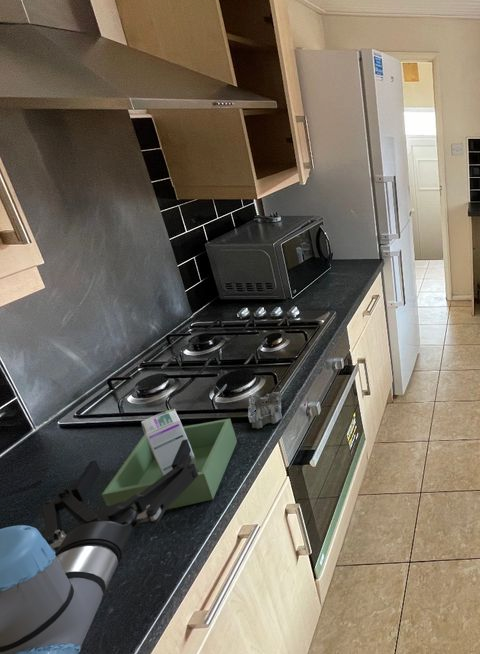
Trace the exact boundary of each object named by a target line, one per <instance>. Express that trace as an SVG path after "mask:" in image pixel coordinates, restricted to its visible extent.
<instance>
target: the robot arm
mask: <svg viewBox="0 0 480 654" xmlns="http://www.w3.org/2000/svg"><path fill="white" fill-rule="evenodd" d="M190 452H191V449H190V446H189V443H188V440H187V439H186V440H182V443H181V445H180V447H179V449H178V452H177V454H176V456H175V458H174V461H173V463H172V465H171V466H172V470H171V471H169V472H168V473H167V474H165V475H164V476H163V477H161V478H160V479H159V480H157V481H156V482H155V483H153V484H152V485H151V486H149V487H148V488H147V489H145V490H144V491H143V492H141V493H140V494H135V495H133V496H132V497H130V498H129V499H128V500H126V501H125V502H124V501H123V502H119V503H117V504H114V505H111V506H107V505H105V506H100V507H99V508H98V509H96V510H94V511H92V510H91V509H90V508H89V507H88V506H85V505H84V504H83V503H82V502H84V500H85V499H86V497H87V495H88V494H89V492H90V490H91V489H92V487H93V486H94V484H95V483H96V481H97V480H98V478H99V476H100V474H101V473H102V470H101V468H100V466H99V464H98V461H97V460H92V461H91V460H90V462H89V463H88V465H87V466H86V467H85V469H84V471H83V472H82V473H81V475H79V476H80V477H79V478H78V479H76V480H74V481H73V482H71V483H70V485H69V486H68V488H64V489H62V490H60V491H59V492H58V493H57V496H58V498H55V499H53V498H50V499H47V500H46V501H44V502H43V503H42V513H43V522H44V531H45V532H44V534H43V535H42V533H41V532H40V531H39V530H38V529H37V528H36V527H33V526H30V525H24V524H21V525H20V524H19V525H12V526H11V525H10V526H7V527H3V528H0V654H80V652H81V649H82V646H83V643H84V641H85V639H86V636H87V635H88V632H89V630H90V628H91V625H92V623H93V620H94V619H95V616H96V614H97V611H98V610H99V607H100V604H101V603H102V600H103V597H104V596H105V593H106V591H107V588H108V587H109V585H110V582H111V581H112V578H113V575H114V574H115V572H116V570H117V567H118V565H119V563H120V562H121V559H122V557H123V555H124V553H125V551H126V549H127V546H128V545H129V542H130V540H131V539H130V538H131V535H132V532H133V530H134V529H135V528H136V527H137V526H138V525H139V524H143V523H148V522H149V523H150V525H151V526H153V525H156V524H158V523H160V521H161V519H162V517H163V515H164V514H165V512H166V511H167V510H166V509H167V508H168V507H169V506H170V505H171V504H172V503H173V502H174V501H175V500H176V499H177V498H178V497H179V496H180V495H181V494H182V493H183V491H184V490H185V489H186V488H187V487H188V486H189V485H190V484H191V483H192V482H193V481H194V480H195V479H196V478H197V477H198V473H197V470H196V467H195V465H194V464H190V463H191V461H192V460H191V457H190ZM134 503H135V505H136V507H137V510H135V509H134V508H133V507H132V505H133V504H134ZM64 509H65V510H66V511H67V512H68V513H69V514H70V515H71V516H72V517H73V518H74V519H75V520H76V521H77V522H78V523H77V524H76V525H75V526H73V527H72V528H70V529H69V531H68V532H67V533H66V532H65V531H64V530H63V528H62V526H63V525H62V521H61V514H60V511H62V510H64Z"/></svg>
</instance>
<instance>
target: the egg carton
mask: <svg viewBox="0 0 480 654" xmlns="http://www.w3.org/2000/svg"><path fill="white" fill-rule="evenodd" d="M272 397H274V398H272ZM270 398H272V399H270ZM269 399H270V401H269V402H267V403H261V402H266V401H268V400H269ZM259 401H260V402H259ZM256 402H259V403H256ZM255 403H256V405H255ZM247 409H248V410H247V417H248V421H249V424H251V428H252V429H261V428H263V427H264V426H265V425H266V424H277V423H278V422H279V421H280V420H282V419H283V415H282V394H281V391H276V392H275V391H273V392H272V393H266V394H265V396H263V397H261V396H260V395H259V394H256V395H251V394H250V395H249V396H248V407H247ZM255 410H256V412H254V411H255ZM252 412H254V413H252Z"/></svg>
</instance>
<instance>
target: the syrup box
mask: <svg viewBox="0 0 480 654" xmlns="http://www.w3.org/2000/svg"><path fill="white" fill-rule="evenodd" d="M140 422H141V426H142V427H141V428H142V430H143V433H144V434H145V436H146V438H147V440H148V443H149V445H150V447H151V450H152V452H153V454H154V457H155V459H156V461H157V464H158V466H159V468H160V471H161V473H162V475H163V476H164V475H165V474H167V473H168V472H169V471H171V470H172V466H171V465H172V463H173V461H174V458H175V456H176V454H177V452H178V449H179V447H180V445H181V443H182V440H186V439H187V440H188V438H187V436H186V433H185V431H184V428H183V427H184V426H183V424H182V422H181V419H180V418H179V415H178V413H177V410H176V409H175V408H171V409H168V410H165V411H163V412H159V413H157V414H155V415H152V416H151V417H148V418H146V419H144V420H142V421H140ZM188 443H189V440H188ZM189 446H190V443H189ZM190 449H191V452H190V457H191V460H192V461H191V463H190V464H194V465H195V467H196V470H197V472H200V471H199V468H198V465H197V462H196V459H195V457H194V454H193V451H192V448H191V446H190Z"/></svg>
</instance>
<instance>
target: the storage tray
mask: <svg viewBox="0 0 480 654" xmlns="http://www.w3.org/2000/svg"><path fill="white" fill-rule="evenodd" d="M183 428H184V431H185V433H186V436H187V438H188V440H189V443H190V446H191V448H192V451H193V454H194V457H195V459H196V462H197V465H198V468H199V471H200V472H197V473H198V477H197V478H196V479H195V480H194V481H193V482H192V483H191V484H190V485H189V486H188V487H187V488H186V489H185V490H184V491H183V493H182V494H181V495H180V496H179V497H178V498H177V499H176V500H175V501H174V502H173V503H172V504H171V505H170V506H169V507H168V508H167V509H166V511H167V510H172V509H177V508H181V507H186V506H190V505H195V504H198V503H199V504H200V503H203V502H208V501H212V500H214V498H215V496H216V494H217V491H218V489H219V487H220V485H221V481H222V479H223V477H224V475H225V472H226V470H227V467H228V464H229V462H230V460H231V458H232V455H233V452H234V451H235V448H236V445H237V443H238V441H237V437H236V434H235V430H234V427H233V424H232V420H231V418H225V419H219V420H214V421H208V422H207V421H206V422H202V423H196V424H191V425H185V426H183ZM161 477H163V475H162V473H161V471H160V468H159V466H158V464H157V461H156V459H155V457H154V454H153V452H152V450H151V447H150V445H149V443H148V440H147V438H146V436H145V433H144V434H143V436H142V437H141V438H140V440H139V442H138V443H137V444H136V445H135V447H134V449H133V450H132V451H131V453H130V454H129V455H128V457H127V458H126V460H125V461H124V462H123V464H122V466H121V467H120V468H119V469H118V471H117V472H116V474H115V475H114V477H113V478H112V479H111V481H110V482H109V484H108V485H107V487H106V488H105V489H104V490H103V492H102V493H101V497H102V498H103V500H104V503H105V506H111V505H114V504H117V503H119V502H123V501H124V502H125V501H126V500H128V499H129V498H130V497H132V496H133V495H135V494H140V493H141V492H143V491H144V490H145V489H147V488H148V487H149V486H151V485H152V484H153V483H155V482H156V481H157V480H159V479H160V478H161ZM132 507H133V508H134V509H135V510H137V507H136V505H135V503H134V504H133V505H132Z"/></svg>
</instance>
